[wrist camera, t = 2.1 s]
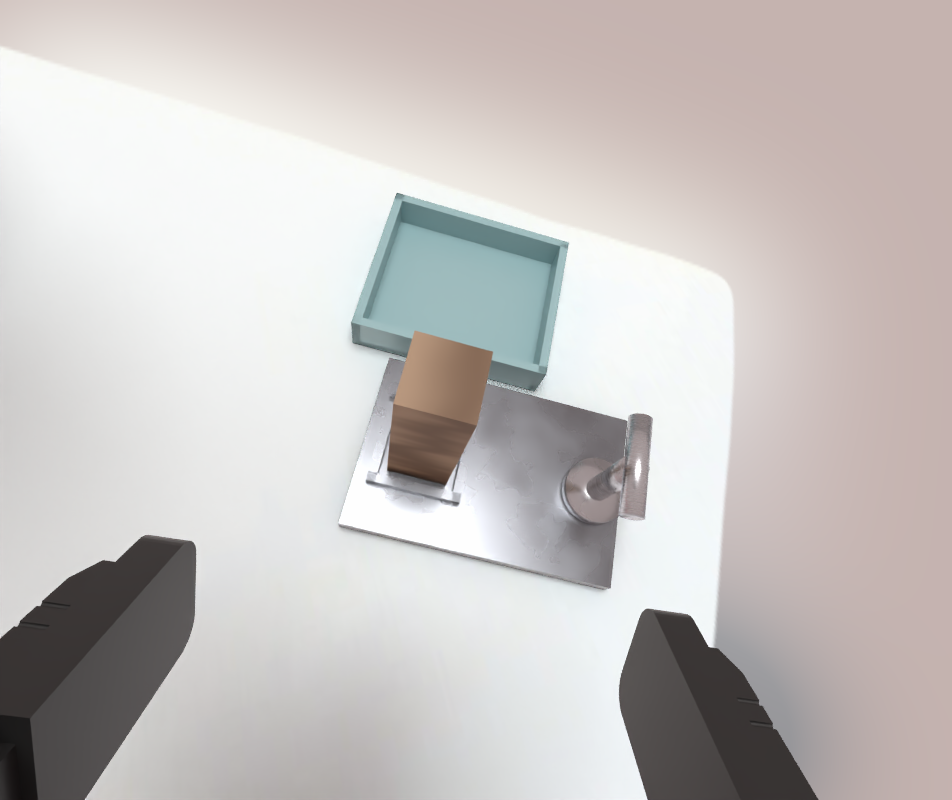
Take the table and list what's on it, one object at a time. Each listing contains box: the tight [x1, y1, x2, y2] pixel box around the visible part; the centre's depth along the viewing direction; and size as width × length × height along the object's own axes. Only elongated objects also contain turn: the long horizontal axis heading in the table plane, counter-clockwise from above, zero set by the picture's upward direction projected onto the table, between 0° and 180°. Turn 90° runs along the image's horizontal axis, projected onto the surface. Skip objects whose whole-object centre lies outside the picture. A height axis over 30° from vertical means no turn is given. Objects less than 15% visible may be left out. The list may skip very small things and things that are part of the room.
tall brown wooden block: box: [387, 331, 493, 485], centre depth 32 cm, size 4×4×12 cm
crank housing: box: [339, 358, 653, 589], centre depth 35 cm, size 18×12×9 cm, turn 78°
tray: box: [351, 193, 569, 391], centre depth 42 cm, size 14×12×3 cm
